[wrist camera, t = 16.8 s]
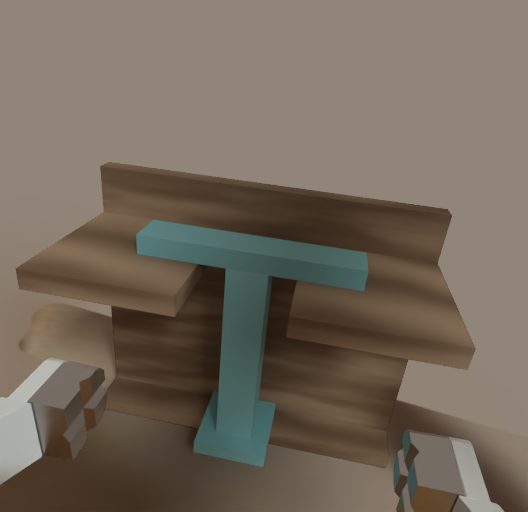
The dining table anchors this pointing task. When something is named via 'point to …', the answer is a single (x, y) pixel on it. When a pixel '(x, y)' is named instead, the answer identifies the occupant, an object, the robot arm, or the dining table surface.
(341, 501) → the dining table surface
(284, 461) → the dining table surface
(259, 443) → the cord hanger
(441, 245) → the wall shelf
